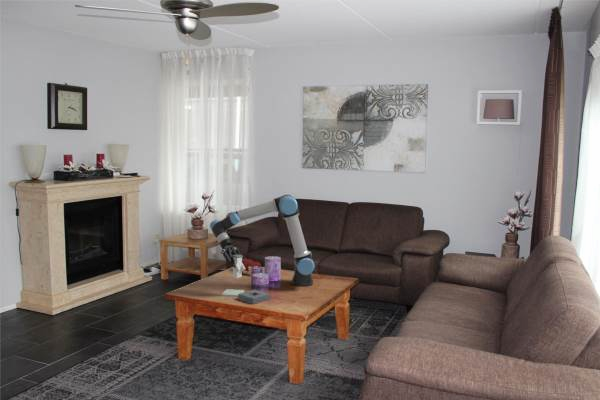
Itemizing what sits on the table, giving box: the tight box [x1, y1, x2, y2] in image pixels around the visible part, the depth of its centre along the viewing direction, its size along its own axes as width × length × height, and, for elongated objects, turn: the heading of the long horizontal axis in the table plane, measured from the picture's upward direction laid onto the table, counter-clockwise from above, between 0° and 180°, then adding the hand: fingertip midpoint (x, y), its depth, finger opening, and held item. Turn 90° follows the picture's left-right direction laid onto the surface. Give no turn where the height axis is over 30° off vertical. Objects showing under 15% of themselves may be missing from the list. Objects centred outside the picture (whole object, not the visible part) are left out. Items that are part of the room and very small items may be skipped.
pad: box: [221, 288, 245, 298], centre depth 341 cm, size 12×12×1 cm
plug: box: [231, 254, 244, 279], centre depth 336 cm, size 5×5×14 cm
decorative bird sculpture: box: [242, 257, 262, 274], centre depth 395 cm, size 28×9×15 cm
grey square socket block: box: [237, 289, 271, 305], centre depth 329 cm, size 14×14×4 cm
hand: (241, 270), depth 334 cm, fingers closed on plug, 4 cm apart
